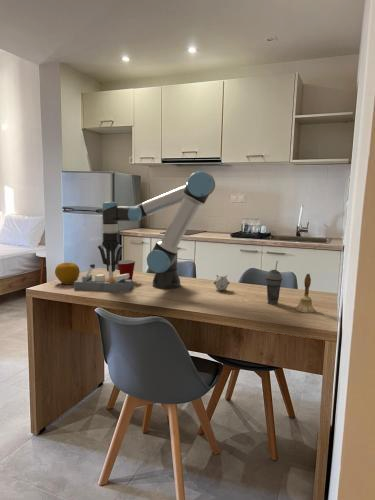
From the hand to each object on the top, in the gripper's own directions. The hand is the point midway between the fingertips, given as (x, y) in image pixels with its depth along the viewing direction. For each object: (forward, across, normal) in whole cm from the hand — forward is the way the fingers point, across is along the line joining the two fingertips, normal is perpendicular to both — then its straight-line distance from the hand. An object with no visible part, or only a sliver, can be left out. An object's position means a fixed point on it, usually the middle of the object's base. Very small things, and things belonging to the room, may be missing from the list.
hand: (111, 277), depth 188 cm
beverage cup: (+6, -81, +13) cm, 82 cm away
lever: (+1, +13, 0) cm, 13 cm away
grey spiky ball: (+6, -57, -6) cm, 58 cm away
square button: (+3, +6, 0) cm, 7 cm away
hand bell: (+6, -94, +21) cm, 97 cm away
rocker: (-1, -6, 0) cm, 6 cm away
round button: (+4, 0, 0) cm, 4 cm away
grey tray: (+6, +4, 0) cm, 7 cm away
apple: (+6, +27, -7) cm, 29 cm away
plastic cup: (+6, -3, -17) cm, 18 cm away
